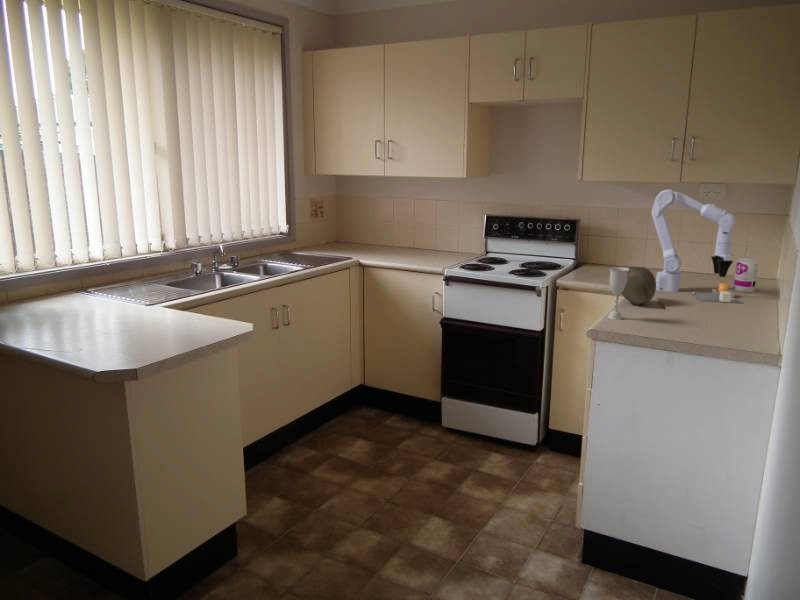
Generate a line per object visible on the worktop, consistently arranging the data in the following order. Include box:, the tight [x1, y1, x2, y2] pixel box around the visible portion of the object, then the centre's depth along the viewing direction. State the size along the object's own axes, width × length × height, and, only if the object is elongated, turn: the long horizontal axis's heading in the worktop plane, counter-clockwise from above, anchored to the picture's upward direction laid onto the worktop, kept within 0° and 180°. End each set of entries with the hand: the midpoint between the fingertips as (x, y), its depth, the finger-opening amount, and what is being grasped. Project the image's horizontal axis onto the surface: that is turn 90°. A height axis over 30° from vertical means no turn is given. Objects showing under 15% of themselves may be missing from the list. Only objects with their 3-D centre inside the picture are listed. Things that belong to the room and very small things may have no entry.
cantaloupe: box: [620, 266, 657, 306], centre depth 249 cm, size 14×14×15 cm
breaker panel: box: [689, 291, 744, 305], centre depth 258 cm, size 16×18×2 cm
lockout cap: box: [718, 282, 730, 292], centre depth 262 cm, size 4×4×5 cm
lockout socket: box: [711, 288, 735, 298], centre depth 262 cm, size 7×7×2 cm
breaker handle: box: [719, 291, 731, 302], centre depth 252 cm, size 3×4×4 cm
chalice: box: [607, 266, 629, 321], centre depth 226 cm, size 7×7×18 cm
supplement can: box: [732, 256, 759, 293], centre depth 274 cm, size 8×8×15 cm
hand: (719, 275), depth 263 cm, fingers open, 7 cm apart
